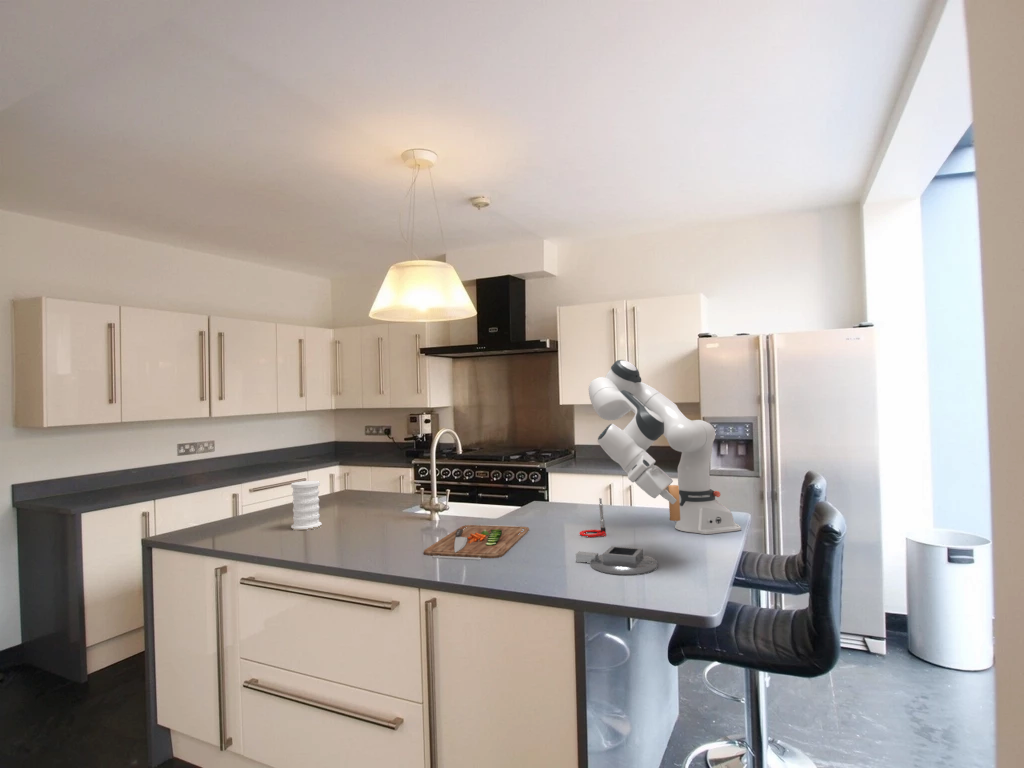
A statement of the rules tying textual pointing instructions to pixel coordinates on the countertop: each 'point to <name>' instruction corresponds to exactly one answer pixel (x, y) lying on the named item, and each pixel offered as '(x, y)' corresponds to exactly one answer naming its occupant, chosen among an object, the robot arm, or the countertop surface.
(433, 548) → the chopping board
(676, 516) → the orange wooden block
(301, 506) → the decorative container
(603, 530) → the tow hook
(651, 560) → the grey peg holder base
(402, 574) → the countertop surface
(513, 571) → the countertop surface
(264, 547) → the countertop surface
